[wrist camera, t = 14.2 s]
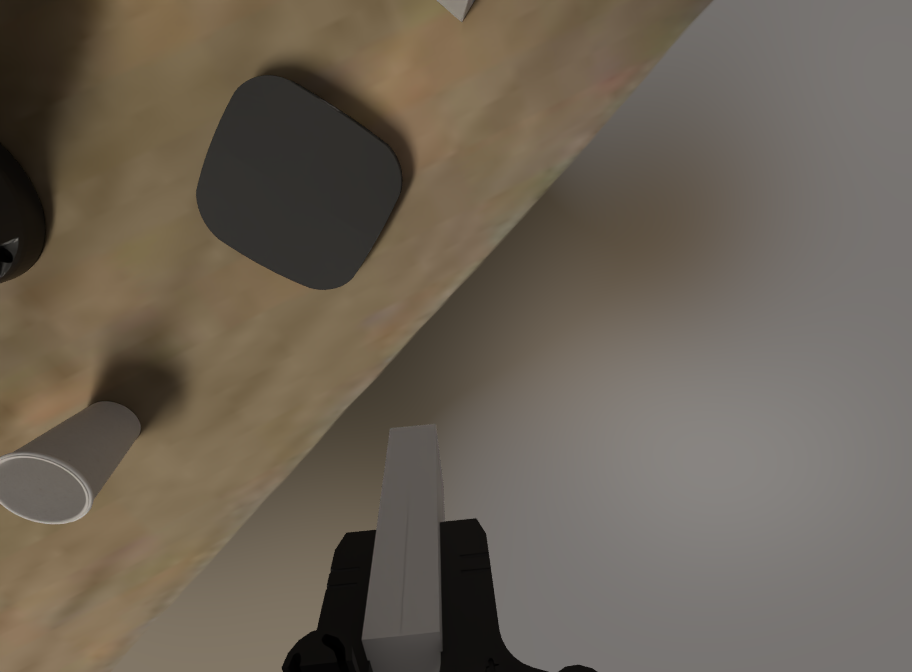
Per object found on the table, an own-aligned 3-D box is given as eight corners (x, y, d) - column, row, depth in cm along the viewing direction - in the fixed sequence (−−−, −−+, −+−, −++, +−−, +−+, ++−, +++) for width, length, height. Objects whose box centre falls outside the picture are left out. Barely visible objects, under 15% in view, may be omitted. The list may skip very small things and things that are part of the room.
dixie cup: (159, 455, 50) (99, 527, 41) (80, 450, 49) (1, 523, 40) (147, 393, 46) (78, 457, 37) (61, 387, 46) (-30, 451, 37)
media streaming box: (196, 216, 39) (178, 222, 37) (259, 55, 35) (244, 49, 32) (343, 296, 43) (337, 307, 41) (419, 162, 38) (418, 165, 36)
